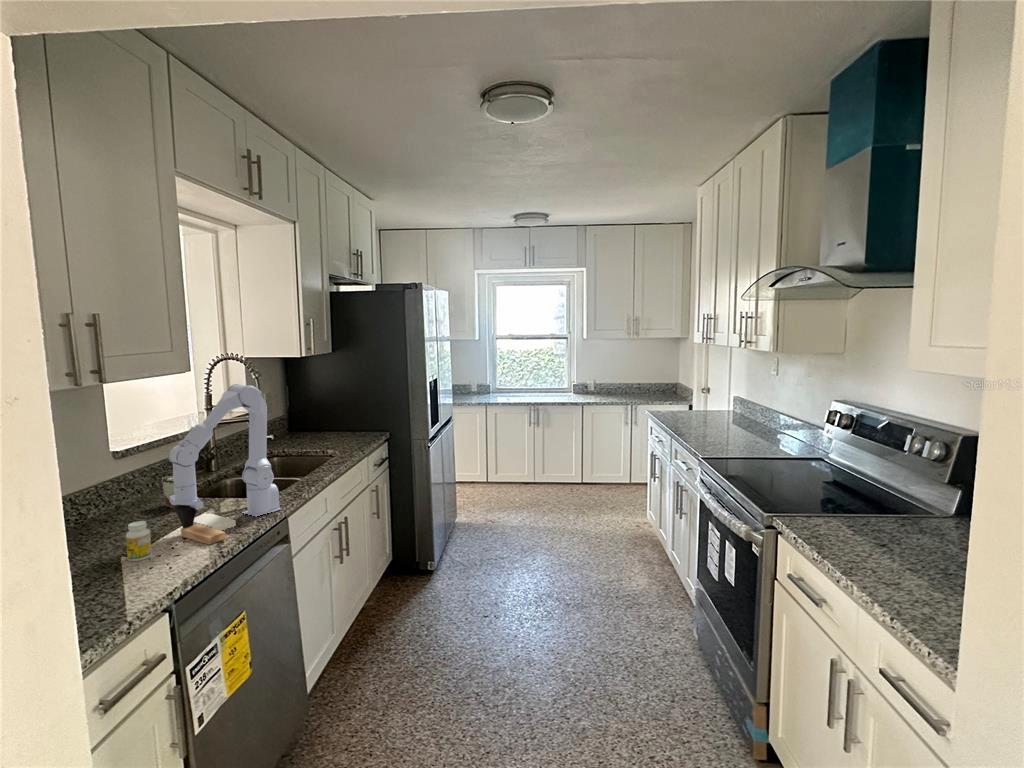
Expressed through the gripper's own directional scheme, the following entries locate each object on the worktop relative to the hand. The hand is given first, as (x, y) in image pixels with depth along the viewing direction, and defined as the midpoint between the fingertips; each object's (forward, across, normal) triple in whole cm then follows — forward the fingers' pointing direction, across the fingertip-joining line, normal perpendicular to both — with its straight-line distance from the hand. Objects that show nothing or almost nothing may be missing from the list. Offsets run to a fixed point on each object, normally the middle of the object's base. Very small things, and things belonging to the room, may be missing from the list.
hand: (188, 528), depth 160 cm
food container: (+2, -29, +14) cm, 33 cm away
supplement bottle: (+2, +7, -17) cm, 18 cm away
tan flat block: (+1, +8, 0) cm, 8 cm away
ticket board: (+1, +1, +6) cm, 7 cm away
